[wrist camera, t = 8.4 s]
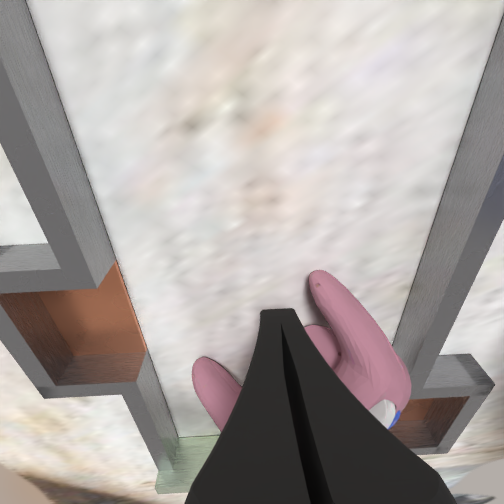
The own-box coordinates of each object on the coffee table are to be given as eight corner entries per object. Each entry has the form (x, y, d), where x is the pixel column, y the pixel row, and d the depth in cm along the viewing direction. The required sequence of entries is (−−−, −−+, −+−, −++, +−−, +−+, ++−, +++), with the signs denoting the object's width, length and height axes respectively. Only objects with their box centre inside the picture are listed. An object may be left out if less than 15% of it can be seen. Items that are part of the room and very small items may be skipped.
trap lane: (753, -145, 7) (1036, -264, 5) (427, 430, 22) (451, 476, 20) (-226, -110, 7) (-498, -215, 4) (114, 448, 22) (98, 497, 19)
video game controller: (234, 363, 19) (276, 489, 15) (180, 364, 16) (215, 525, 12) (356, 277, 16) (452, 412, 12) (319, 255, 12) (435, 432, 8)
